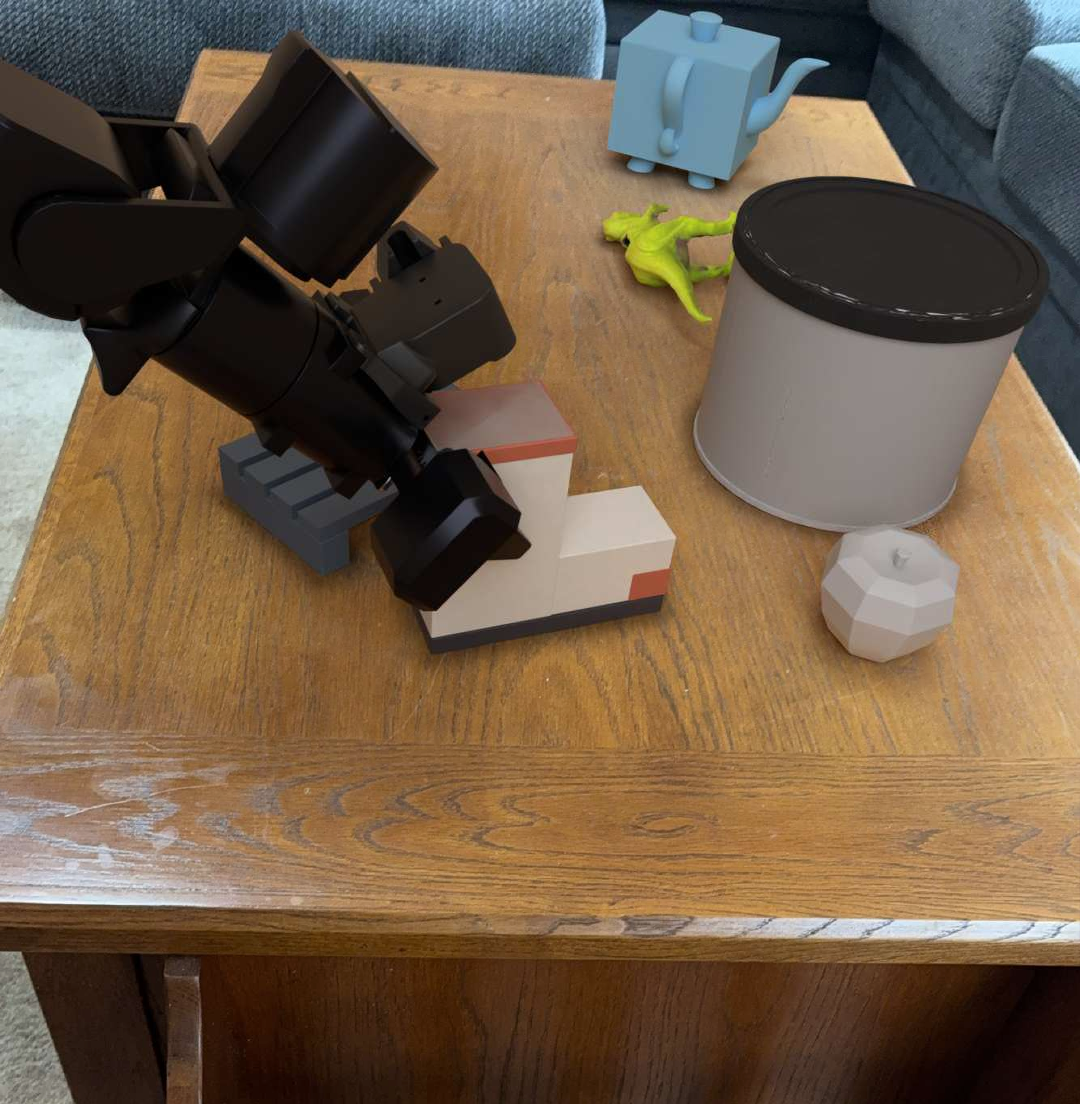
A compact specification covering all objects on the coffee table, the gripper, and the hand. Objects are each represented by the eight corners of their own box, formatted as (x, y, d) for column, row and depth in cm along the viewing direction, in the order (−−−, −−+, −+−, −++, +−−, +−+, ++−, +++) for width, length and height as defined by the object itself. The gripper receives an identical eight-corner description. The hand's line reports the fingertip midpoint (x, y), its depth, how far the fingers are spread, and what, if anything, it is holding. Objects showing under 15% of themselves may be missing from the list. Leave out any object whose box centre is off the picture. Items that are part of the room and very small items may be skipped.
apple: (787, 591, 67) (817, 503, 62) (912, 595, 68) (951, 509, 63) (816, 686, 62) (851, 599, 57) (951, 690, 63) (997, 603, 58)
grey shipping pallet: (323, 577, 64) (319, 529, 62) (223, 494, 68) (216, 446, 66) (520, 476, 72) (525, 431, 70) (421, 408, 77) (421, 362, 74)
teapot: (595, 176, 105) (614, 22, 96) (647, 124, 115) (669, -20, 106) (776, 224, 102) (815, 69, 92) (814, 166, 112) (852, 21, 102)
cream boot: (429, 655, 61) (434, 457, 51) (403, 594, 64) (403, 395, 54) (662, 610, 65) (708, 419, 55) (627, 555, 68) (665, 364, 58)
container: (667, 495, 72) (714, 275, 61) (713, 356, 85) (759, 152, 74) (955, 564, 70) (1058, 348, 59) (959, 411, 83) (1045, 209, 72)
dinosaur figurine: (800, 325, 89) (821, 250, 85) (698, 349, 86) (714, 272, 81) (664, 220, 100) (676, 148, 96) (568, 236, 96) (576, 163, 92)
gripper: (482, 319, 38) (701, 514, 50) (333, 113, 49) (541, 312, 61) (281, 541, 42) (529, 675, 54) (183, 302, 53) (407, 456, 65)
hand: (502, 515), depth 58 cm, fingers closed on cream boot, 6 cm apart
